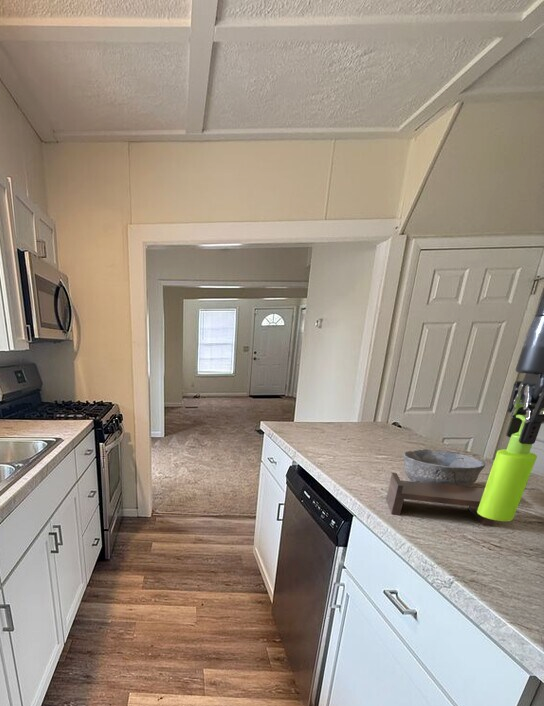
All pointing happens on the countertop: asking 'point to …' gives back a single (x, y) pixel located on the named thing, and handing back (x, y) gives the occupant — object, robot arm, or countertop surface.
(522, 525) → the countertop surface
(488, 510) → the soap dispenser
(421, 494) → the shelf
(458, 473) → the bowl
